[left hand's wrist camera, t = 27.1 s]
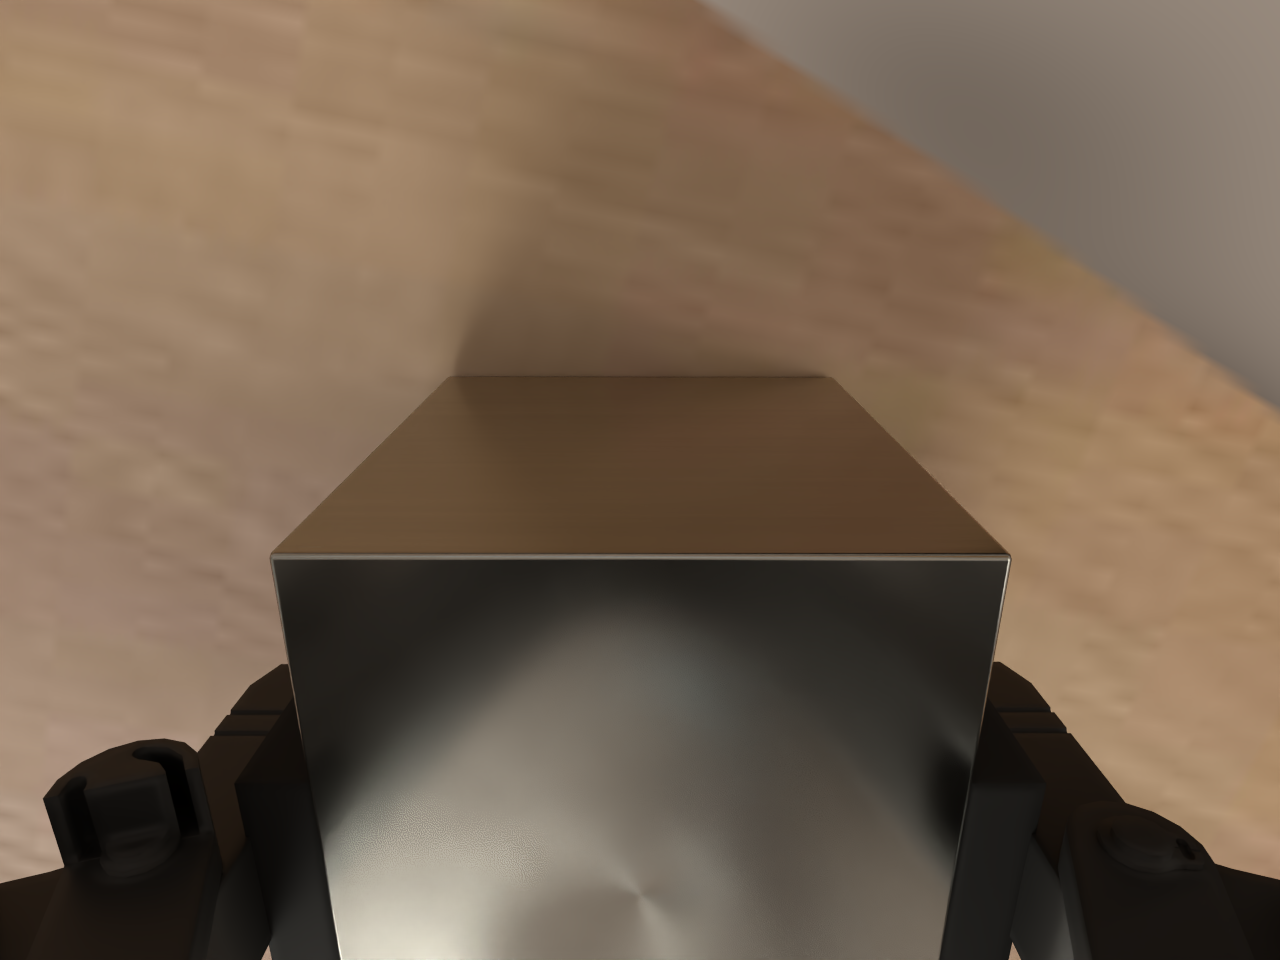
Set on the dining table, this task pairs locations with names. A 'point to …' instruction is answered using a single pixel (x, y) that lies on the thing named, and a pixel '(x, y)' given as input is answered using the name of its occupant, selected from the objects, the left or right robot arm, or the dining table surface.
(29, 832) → the dining table surface
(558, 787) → the block
